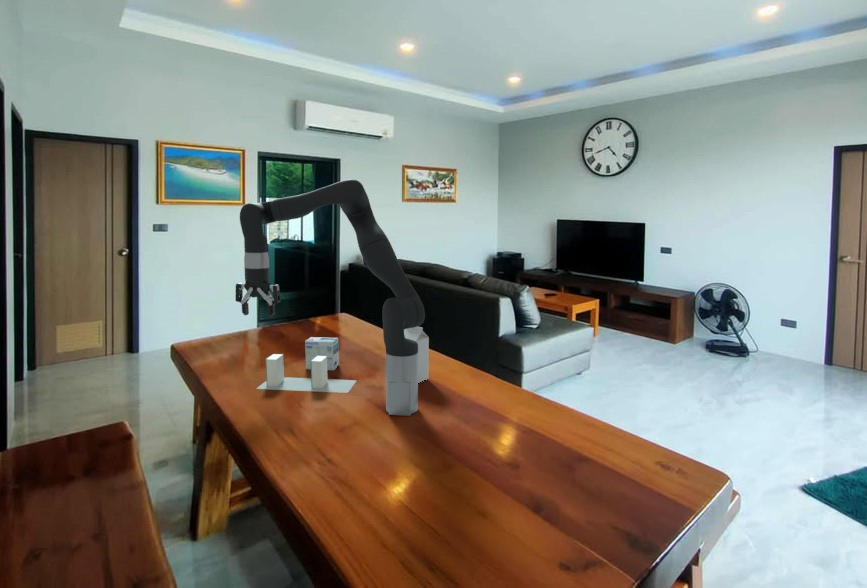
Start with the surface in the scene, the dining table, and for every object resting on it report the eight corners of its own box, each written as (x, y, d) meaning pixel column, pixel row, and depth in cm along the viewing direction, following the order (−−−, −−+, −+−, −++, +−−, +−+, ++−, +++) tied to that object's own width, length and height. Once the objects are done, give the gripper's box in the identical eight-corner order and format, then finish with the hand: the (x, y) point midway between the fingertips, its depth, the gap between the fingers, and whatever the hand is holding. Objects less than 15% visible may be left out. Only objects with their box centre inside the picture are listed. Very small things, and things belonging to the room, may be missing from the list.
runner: (347, 393, 162) (347, 392, 162) (256, 389, 165) (256, 388, 165) (357, 380, 174) (356, 380, 174) (271, 377, 177) (271, 376, 177)
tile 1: (277, 386, 168) (275, 359, 166) (266, 385, 168) (265, 359, 166) (284, 380, 173) (283, 354, 172) (274, 379, 174) (272, 354, 172)
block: (322, 388, 166) (321, 361, 165) (311, 387, 166) (310, 360, 165) (327, 382, 172) (326, 356, 171) (317, 381, 172) (316, 355, 171)
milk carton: (415, 385, 170) (415, 329, 167) (399, 381, 175) (399, 326, 171) (428, 379, 176) (429, 325, 173) (412, 375, 180) (412, 322, 177)
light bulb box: (339, 365, 191) (338, 337, 189) (334, 371, 185) (333, 341, 183) (311, 364, 192) (310, 336, 190) (305, 369, 186) (304, 340, 184)
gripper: (229, 266, 163) (232, 316, 165) (273, 268, 161) (274, 319, 164) (241, 264, 170) (243, 312, 173) (282, 265, 168) (284, 314, 171)
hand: (258, 315), depth 168 cm, fingers open, 8 cm apart
